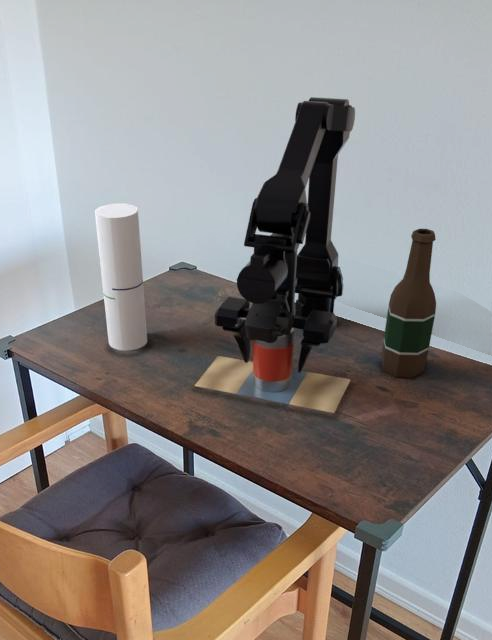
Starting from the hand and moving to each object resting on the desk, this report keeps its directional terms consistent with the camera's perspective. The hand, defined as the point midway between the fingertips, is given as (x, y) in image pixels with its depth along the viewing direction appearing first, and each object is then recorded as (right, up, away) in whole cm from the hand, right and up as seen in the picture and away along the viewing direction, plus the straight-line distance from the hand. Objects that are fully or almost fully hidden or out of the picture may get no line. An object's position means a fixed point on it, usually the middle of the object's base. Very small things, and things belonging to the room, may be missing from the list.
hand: (273, 366), depth 124 cm
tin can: (0, -2, +2) cm, 3 cm away
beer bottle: (+23, +1, +7) cm, 24 cm away
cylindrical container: (-25, +6, +15) cm, 30 cm away
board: (0, -3, +2) cm, 4 cm away
